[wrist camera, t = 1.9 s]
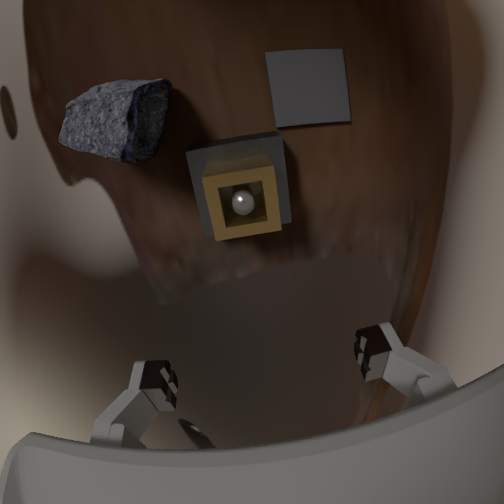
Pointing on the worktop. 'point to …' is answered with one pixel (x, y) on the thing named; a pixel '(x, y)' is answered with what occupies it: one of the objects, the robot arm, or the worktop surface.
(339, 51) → the mat
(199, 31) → the worktop surface
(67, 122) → the stone
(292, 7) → the worktop surface
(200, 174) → the post block
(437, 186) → the worktop surface
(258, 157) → the ring
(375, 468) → the robot arm
